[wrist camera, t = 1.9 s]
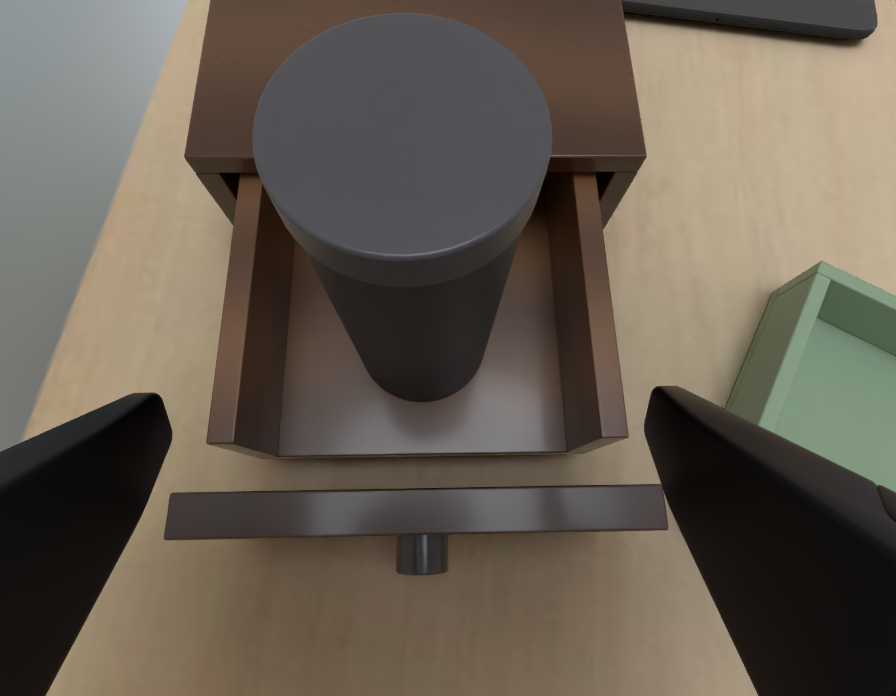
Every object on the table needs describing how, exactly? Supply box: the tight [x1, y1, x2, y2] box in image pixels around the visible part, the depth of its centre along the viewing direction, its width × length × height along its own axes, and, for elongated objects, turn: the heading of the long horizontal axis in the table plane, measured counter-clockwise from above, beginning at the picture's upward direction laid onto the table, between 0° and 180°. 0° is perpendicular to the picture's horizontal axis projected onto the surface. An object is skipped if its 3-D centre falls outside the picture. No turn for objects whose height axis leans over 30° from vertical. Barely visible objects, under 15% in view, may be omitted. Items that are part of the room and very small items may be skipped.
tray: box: [725, 261, 896, 492], centre depth 19 cm, size 11×11×3 cm
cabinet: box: [184, 0, 647, 229], centre depth 21 cm, size 16×15×7 cm
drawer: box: [164, 172, 668, 575], centre depth 18 cm, size 16×13×5 cm
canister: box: [253, 13, 552, 402], centre depth 14 cm, size 5×5×12 cm
